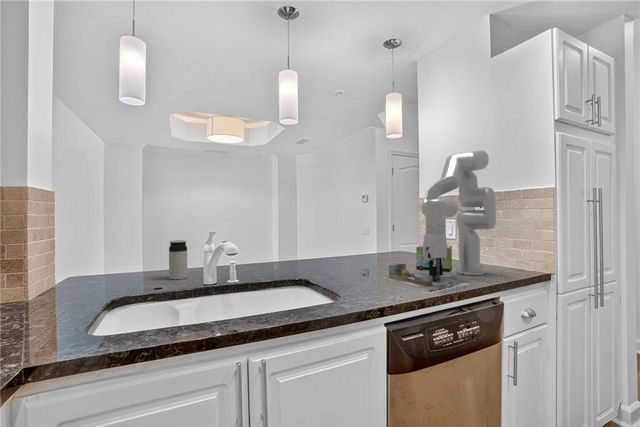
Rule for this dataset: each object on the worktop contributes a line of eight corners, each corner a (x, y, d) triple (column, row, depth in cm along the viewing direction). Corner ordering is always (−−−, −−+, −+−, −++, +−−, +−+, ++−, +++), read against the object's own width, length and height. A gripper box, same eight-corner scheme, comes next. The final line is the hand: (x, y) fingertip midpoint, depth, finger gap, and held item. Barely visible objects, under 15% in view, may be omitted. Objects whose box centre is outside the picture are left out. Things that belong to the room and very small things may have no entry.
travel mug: (190, 276, 157) (190, 240, 157) (181, 280, 149) (181, 241, 149) (175, 276, 158) (174, 240, 158) (165, 279, 150) (165, 241, 150)
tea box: (415, 277, 151) (415, 246, 151) (419, 273, 160) (419, 244, 160) (450, 280, 144) (449, 247, 144) (452, 276, 153) (452, 245, 153)
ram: (423, 279, 138) (423, 253, 138) (448, 284, 128) (447, 255, 128) (412, 281, 134) (412, 254, 134) (436, 286, 124) (436, 257, 124)
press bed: (403, 277, 152) (403, 261, 152) (453, 287, 130) (453, 269, 130) (382, 280, 144) (382, 264, 144) (431, 292, 122) (431, 273, 122)
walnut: (404, 277, 145) (404, 268, 145) (411, 278, 141) (411, 269, 141) (398, 278, 143) (398, 269, 143) (405, 279, 139) (405, 270, 139)
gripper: (440, 229, 136) (440, 272, 136) (414, 230, 127) (414, 276, 127) (456, 229, 130) (456, 274, 130) (430, 231, 121) (430, 279, 121)
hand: (435, 275), depth 129 cm, fingers closed on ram, 3 cm apart
